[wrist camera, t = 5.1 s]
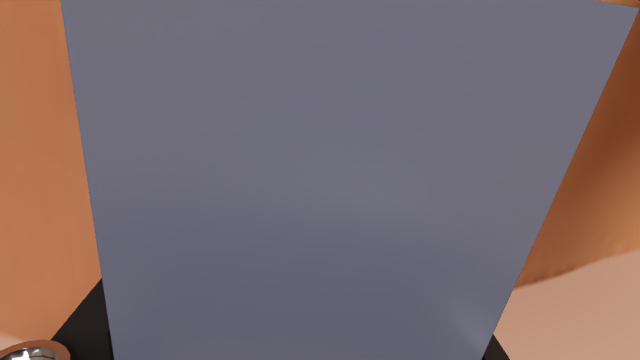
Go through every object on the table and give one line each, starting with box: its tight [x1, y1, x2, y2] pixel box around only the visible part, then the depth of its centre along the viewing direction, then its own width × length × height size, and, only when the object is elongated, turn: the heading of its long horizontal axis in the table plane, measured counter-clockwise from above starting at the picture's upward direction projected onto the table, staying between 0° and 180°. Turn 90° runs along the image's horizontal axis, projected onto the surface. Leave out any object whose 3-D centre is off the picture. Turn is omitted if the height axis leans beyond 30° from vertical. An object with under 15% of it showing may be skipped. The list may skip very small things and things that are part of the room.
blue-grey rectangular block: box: [60, 0, 640, 360], centre depth 8 cm, size 6×14×5 cm, turn 172°
